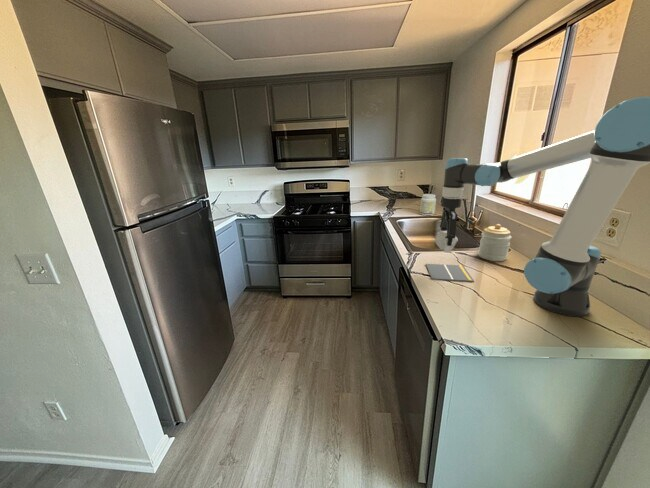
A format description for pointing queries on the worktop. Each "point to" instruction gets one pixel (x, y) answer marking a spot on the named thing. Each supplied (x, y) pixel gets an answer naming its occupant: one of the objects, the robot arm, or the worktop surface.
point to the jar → (494, 243)
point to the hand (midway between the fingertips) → (444, 248)
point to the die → (443, 240)
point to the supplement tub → (428, 204)
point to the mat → (449, 272)
